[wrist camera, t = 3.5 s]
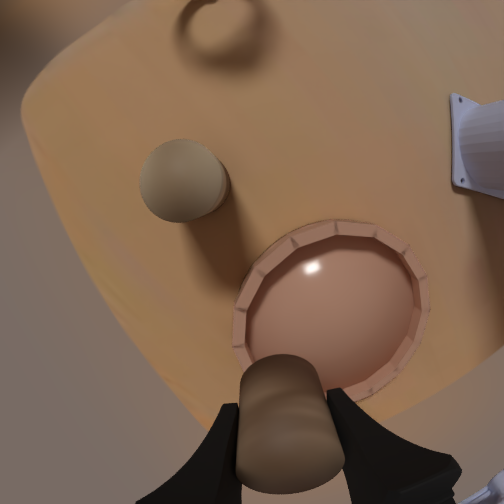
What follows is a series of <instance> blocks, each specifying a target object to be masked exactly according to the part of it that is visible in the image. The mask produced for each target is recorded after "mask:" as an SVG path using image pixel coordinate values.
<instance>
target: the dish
mask: <svg viewBox="0 0 504 504" xmlns="http://www.w3.org/2000/svg"><path fill="white" fill-rule="evenodd" d="M429 312H430V300H429V289H428V280H427V274H426V273H425V271H424V269H423V267H422V266H421V264H420V262H419V260H418V259H417V257H416V255H415V254H414V252H413V250H412V249H411V247H410V245H409V244H407V243H405V242H404V241H402V240H401V239H399V238H398V237H396V236H394V235H393V234H391V233H390V232H388V231H386V230H385V229H383V228H382V227H380V226H378V225H376V224H373V223H367V222H358V221H352V220H339V219H329V220H325V221H319V222H315V223H311V224H307V225H305V226H302V227H300V228H298V229H295V230H293V231H291V232H290V233H288V234H286V235H284V236H283V237H281V238H280V239H278V240H277V241H276V242H274V243H273V244H272V245H270V246H269V247H268V248H267V249H266V250H265V251H264V252H263V253H262V254H261V255H260V256H259V258H258V259H257V260H256V261H255V262H254V263H253V265H252V266H251V268H250V270H249V271H248V273H247V275H246V276H245V278H244V280H243V283H242V285H241V287H240V290H239V293H238V295H237V297H236V299H235V301H234V316H233V342H232V348H233V350H234V352H235V354H236V356H237V359H238V361H239V363H240V365H241V367H242V369H243V372H245V371H246V369H247V368H248V367H249V366H250V365H252V364H253V363H254V362H256V361H258V360H259V359H262V358H264V357H267V356H270V355H275V354H291V355H296V356H299V357H302V358H304V359H306V360H307V361H308V362H310V363H311V364H312V365H313V366H314V368H315V369H316V371H317V373H318V376H319V379H320V382H321V385H322V388H323V391H324V394H325V397H326V400H327V390H329V389H334V388H339V387H340V388H342V389H343V391H344V392H345V393H346V394H347V395H348V396H349V397H350V398H351V399H352V400H353V401H354V402H355V401H358V400H360V399H363V398H365V397H368V396H370V395H373V394H374V393H375V392H377V391H378V390H379V389H380V388H382V387H383V386H384V385H386V384H387V383H388V382H389V381H391V380H392V379H393V378H394V377H396V376H397V375H398V374H399V373H400V372H401V371H402V370H403V368H404V367H405V366H406V364H407V363H408V361H409V360H410V358H411V357H412V355H413V354H414V352H415V351H416V349H417V348H418V346H419V345H420V344H421V340H422V337H423V334H424V330H425V327H426V323H427V320H428V316H429Z"/></svg>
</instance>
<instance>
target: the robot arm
mask: <svg viewBox="0 0 504 504" xmlns="http://www.w3.org/2000/svg"><path fill="white" fill-rule="evenodd" d="M458 99H459V100H460V102H459V100H458ZM450 104H451V119H452V182H453V184H454V185H455V186H458V187H462V188H466V189H470V190H473V191H477V192H481V193H484V194H488V195H491V196H494V197H498V198H501V199H504V100H501V101H497V102H493V103H489V104H485V105H480V104H478V103H476V102H474V101H472V100H469V99H467V98H465V97H463V96H461V95H459V94H456V93H452V94H451V95H450ZM461 179H462V183H461ZM327 403H328V406H329V409H330V412H331V415H332V419H333V422H334V425H335V428H336V431H337V434H338V437H339V440H340V443H341V447H342V450H343V453H344V456H345V462H344V465H343V468H342V469H343V471H344V474H345V477H346V481H347V485H348V489H349V493H350V498H351V501H352V504H456V503H455V501H454V499H453V496H454V492H453V490H452V487H453V486H454V485H455V483H456V482H457V481H458V479H459V477H460V476H461V473H462V469H461V468H460V466H459V464H458V463H457V462H456V460H455V459H454V458H453V457H452V456H451V455H448V454H445V453H440V452H436V451H432V450H429V449H426V448H423V447H420V446H418V445H416V444H413V443H411V442H409V441H407V440H405V439H403V438H401V437H399V436H397V435H395V434H394V433H392V432H390V431H389V430H387V429H386V428H384V427H383V426H381V425H380V424H379V423H377V422H376V421H375V420H374V419H372V418H371V417H370V416H369V415H368V414H366V413H365V412H364V411H363V410H362V409H361V408H360V407H359V406H358V405H357V404H356V403H355V402H354V401H353V400H352V399H351V398H350V397H349V396H348V395H347V394H346V393H345V392H344V391H343V389H342V388H340V387H339V388H334V389H329V390H327ZM238 419H239V408H238V404H237V403H228V404H223V405H222V407H221V409H220V411H219V414H218V416H217V418H216V420H215V422H214V423H213V425H212V427H211V429H210V431H209V432H208V434H207V436H206V437H205V439H204V440H203V442H202V443H201V445H200V446H199V447H198V449H197V450H196V452H195V453H194V454H193V455H192V457H191V458H190V459H189V460H188V462H186V464H185V465H184V466H183V467H182V468H181V469H180V470H179V471H178V472H177V473H176V474H175V475H174V476H172V477H171V478H170V479H169V480H168V481H166V482H165V483H164V484H163V485H161V486H160V487H159V488H157V489H156V490H155V491H153V492H151V493H150V494H148V495H147V496H145V497H143V498H142V499H140V500H138V501H136V503H135V504H242V500H241V490H242V483H241V482H240V481H239V480H238V478H237V476H236V452H237V433H238ZM457 504H504V469H503V470H502V471H500V472H499V473H498V474H496V475H495V476H494V477H493V478H492V479H491V480H490V482H489V483H488V485H487V486H485V487H484V488H483V489H481V490H479V491H478V492H476V493H475V494H473V495H471V496H470V497H468V498H466V499H464V500H463V501H461V502H459V503H457Z"/></svg>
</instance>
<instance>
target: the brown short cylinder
mask: <svg viewBox="0 0 504 504" xmlns="http://www.w3.org/2000/svg"><path fill="white" fill-rule="evenodd" d="M344 462H345V456H344V453H343V450H342V447H341V443H340V440H339V437H338V434H337V431H336V428H335V425H334V422H333V419H332V415H331V412H330V409H329V406H328V403H327V400H326V397H325V394H324V391H323V388H322V385H321V382H320V379H319V376H318V373H317V371H316V369H315V368H314V366H313V365H312V364H311V363H310V362H308V361H307V360H306V359H304V358H302V357H299V356H296V355H291V354H275V355H270V356H267V357H264V358H262V359H259V360H258V361H256V362H254V363H253V364H252V365H250V366H249V367H248V368H247V369H246V371H245V372H244V374H243V375H242V378H241V382H240V396H239V419H238V433H237V452H236V476H237V478H238V480H239V481H240V482H241V483H242V484H243V485H245V486H246V487H248V488H250V489H253V490H255V491H258V492H262V493H268V494H293V493H299V492H304V491H307V490H311V489H314V488H316V487H319V486H321V485H323V484H325V483H326V482H328V481H330V480H331V479H333V478H334V477H335V476H336V475H337V474H338V473H339V472H340V471H341V469H342V468H343V465H344Z"/></svg>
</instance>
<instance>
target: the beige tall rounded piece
mask: <svg viewBox="0 0 504 504" xmlns="http://www.w3.org/2000/svg"><path fill="white" fill-rule="evenodd" d="M229 189H230V179H229V175H228V172H227V170H226V168H225V166H224V165H223V164H222V163H221V162H220V161H219V160H218V159H217V158H216V157H215V156H214V155H213V154H212V153H211V152H210V151H209V150H208V149H207V148H206V147H205V146H203V145H202V144H200V143H198V142H195V141H192V140H187V139H176V140H172V141H168V142H166V143H164V144H162V145H160V146H159V147H157V148H156V149H155V150H154V151H153V152H152V153H151V154H150V155H149V156H148V158H147V159H146V161H145V163H144V165H143V167H142V170H141V174H140V191H141V195H142V198H143V200H144V202H145V204H146V205H147V207H148V208H149V209H150V211H151V212H153V213H154V214H155V215H156V216H158V217H159V218H161V219H163V220H166V221H169V222H176V223H181V222H188V221H191V220H194V219H196V218H199V217H201V216H203V215H206V214H208V213H210V212H212V211H214V210H216V209H217V208H219V207H220V206H221V205H222V204H223V202H224V201H225V200H226V198H227V196H228V193H229Z"/></svg>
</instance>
